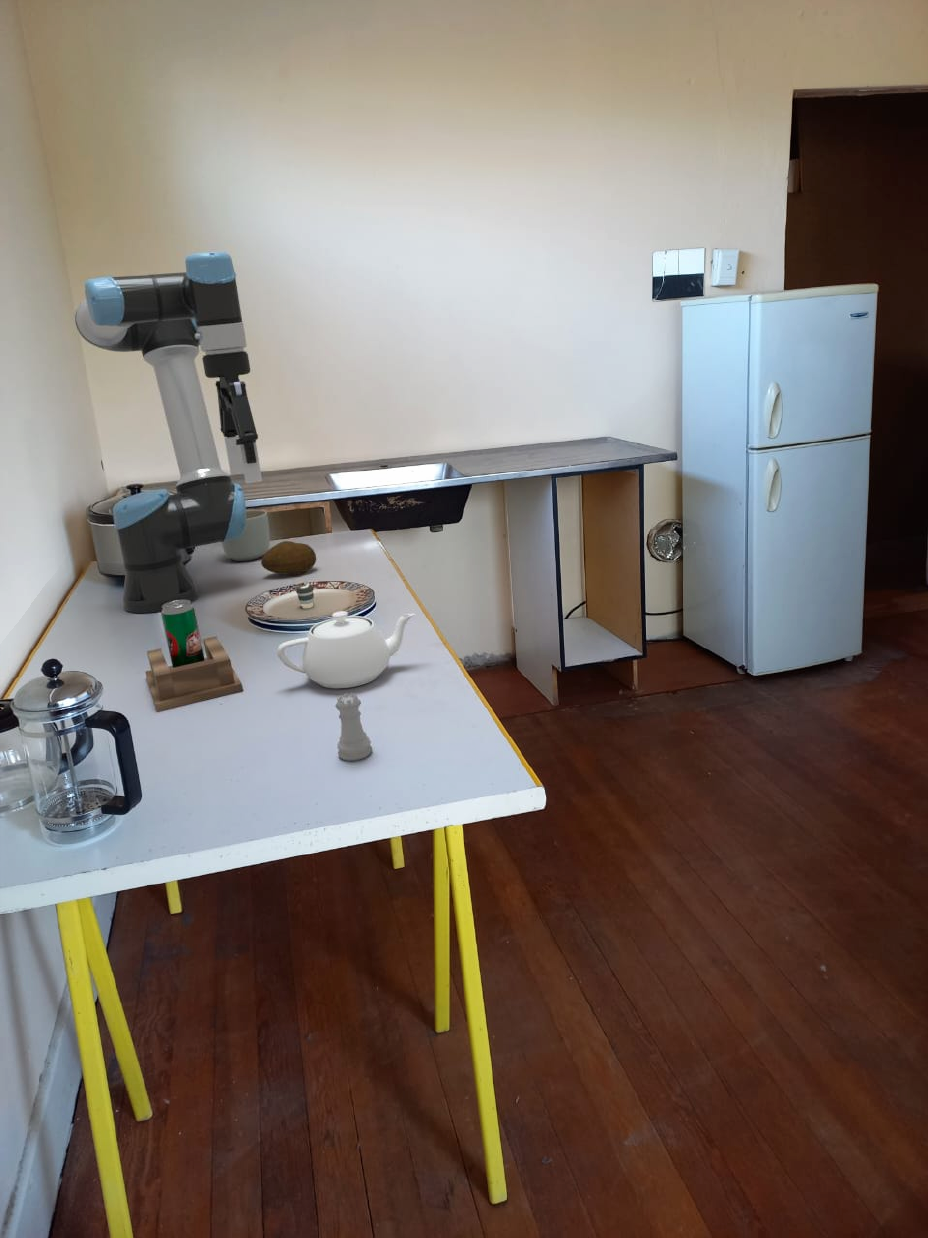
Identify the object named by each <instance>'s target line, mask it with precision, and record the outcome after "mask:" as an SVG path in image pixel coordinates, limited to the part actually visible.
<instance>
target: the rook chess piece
mask: <svg viewBox="0 0 928 1238" xmlns="http://www.w3.org/2000/svg"><path fill="white" fill-rule="evenodd" d="M349 695H350V696H349ZM343 696H344V697H343ZM337 697H338V698H336V699H337V702H336V704H335V708H336V709H337V710H338V711H339V715H338V718H339V719H340V722H341V724H340V726H341V731H340V732H341V733H340V736H339V741H338V742H337V744H336V745H337V746H336V747H337V749H338V751H337V754H338V757H340V759H342V760H344V761H349V762H356V761H361V760H363V759H365V758H367V757H368V756H370V754H371V752H372V750H373V747H372V745H371V744H372V742H371V740H370V737H369V736H367V733H366V732H365V731H364V728H363V724H362V722H361V715H362V713H361V712H360V709H359V708H360V706H361V705H362V702H361V700H360V699H359V698H358V695H357V694H355V693H352V692H351V693H350V694H349V693H343V695H339V696H337Z"/></svg>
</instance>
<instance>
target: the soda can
mask: <svg viewBox="0 0 928 1238" xmlns="http://www.w3.org/2000/svg"><path fill="white" fill-rule="evenodd" d="M162 608H163V610H162V611H160V614H161V619H162V625H163V629H164V634H165V638H166V643H167V646H168V647H167V648H168V652H169V656H170V661H171V664H172V665H171V666H173V668H175V667H180V666H184V665H188V664H193V663H197V662H202V661H205V659H204V658H205V654H204V650H203V645H202V640H201V635H200V630H199V626H198V620H197V616H196V614H197V613H196V610H195V607H194V605H192V602H190V601H189V600H176V601H171V602H168V603H166V604H164V605H163V606H162Z"/></svg>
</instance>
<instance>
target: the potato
mask: <svg viewBox="0 0 928 1238" xmlns="http://www.w3.org/2000/svg"><path fill="white" fill-rule="evenodd" d="M316 562H317V555H316V552H315V550H314V549H313V548H312V547H311V546H310V545H309V544H306V543H301V542H294V541H291V540H290V541H288V540H286V541H285V540H283V541H281V542H279V543H276V544H275V545H273V546H272V547H271V548H269V549H268V551H267V552H266V554H265V555H264V556H262V557H261V562H260V564H261V566H262V567H263V568H264V569H265V570H267V571H269V572H271V573H274V574H281V575H293V576H294V575H301V574H304V573H306V572H308V571H310V570H311V569H312V568H313V567H314V566H315V564H316Z"/></svg>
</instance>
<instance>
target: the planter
mask: <svg viewBox="0 0 928 1238" xmlns="http://www.w3.org/2000/svg"><path fill="white" fill-rule="evenodd" d="M270 539H271V538H270V525H269V517H268V513H267V511H266V510H264V509H246V525H245V530H244V532H243V534H242V535H241V536H240V537H238V538H235V539H231V540H227V541H225V542H220V543H221V546H222V549H223V551H224V554H225V555H226V556H227V557H228V558H229V559H231V560H234V561H236V562H249V561H253V560H254V561H255V560H257V559H260V558H263V556H264V555H265V554H266V553H267V552H268V551H269V550H270V544H271V541H270Z"/></svg>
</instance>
